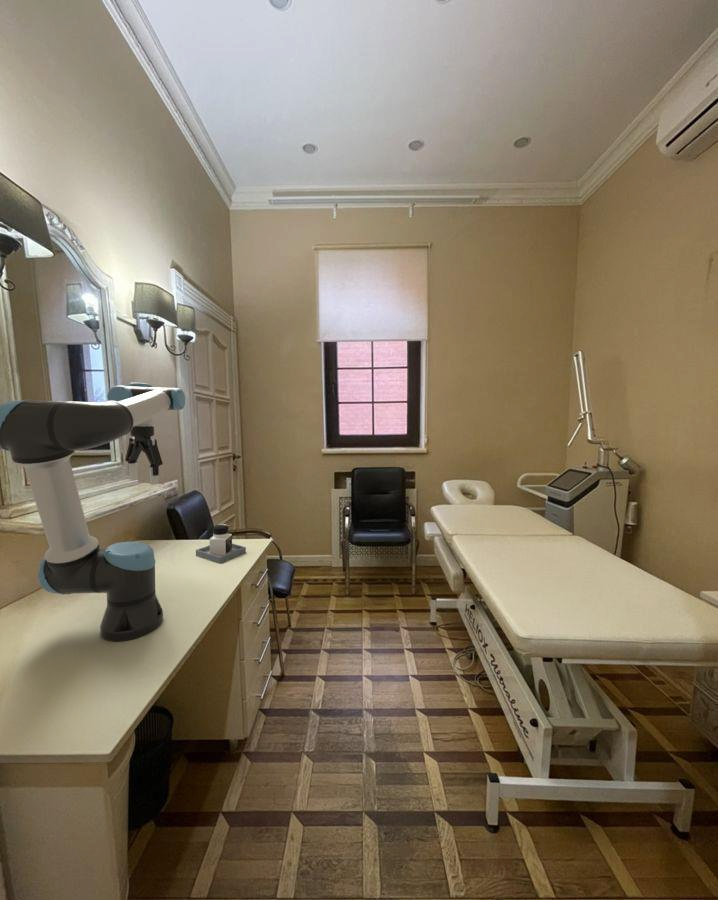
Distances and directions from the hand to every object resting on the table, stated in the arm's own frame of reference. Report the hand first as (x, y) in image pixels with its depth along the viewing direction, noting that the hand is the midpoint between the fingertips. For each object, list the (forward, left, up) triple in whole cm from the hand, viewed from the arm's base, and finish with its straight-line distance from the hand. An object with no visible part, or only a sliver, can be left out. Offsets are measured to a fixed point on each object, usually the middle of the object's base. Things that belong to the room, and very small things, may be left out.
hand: (144, 482), depth 134 cm
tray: (+27, -9, -35) cm, 45 cm away
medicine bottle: (+27, -9, -34) cm, 44 cm away
